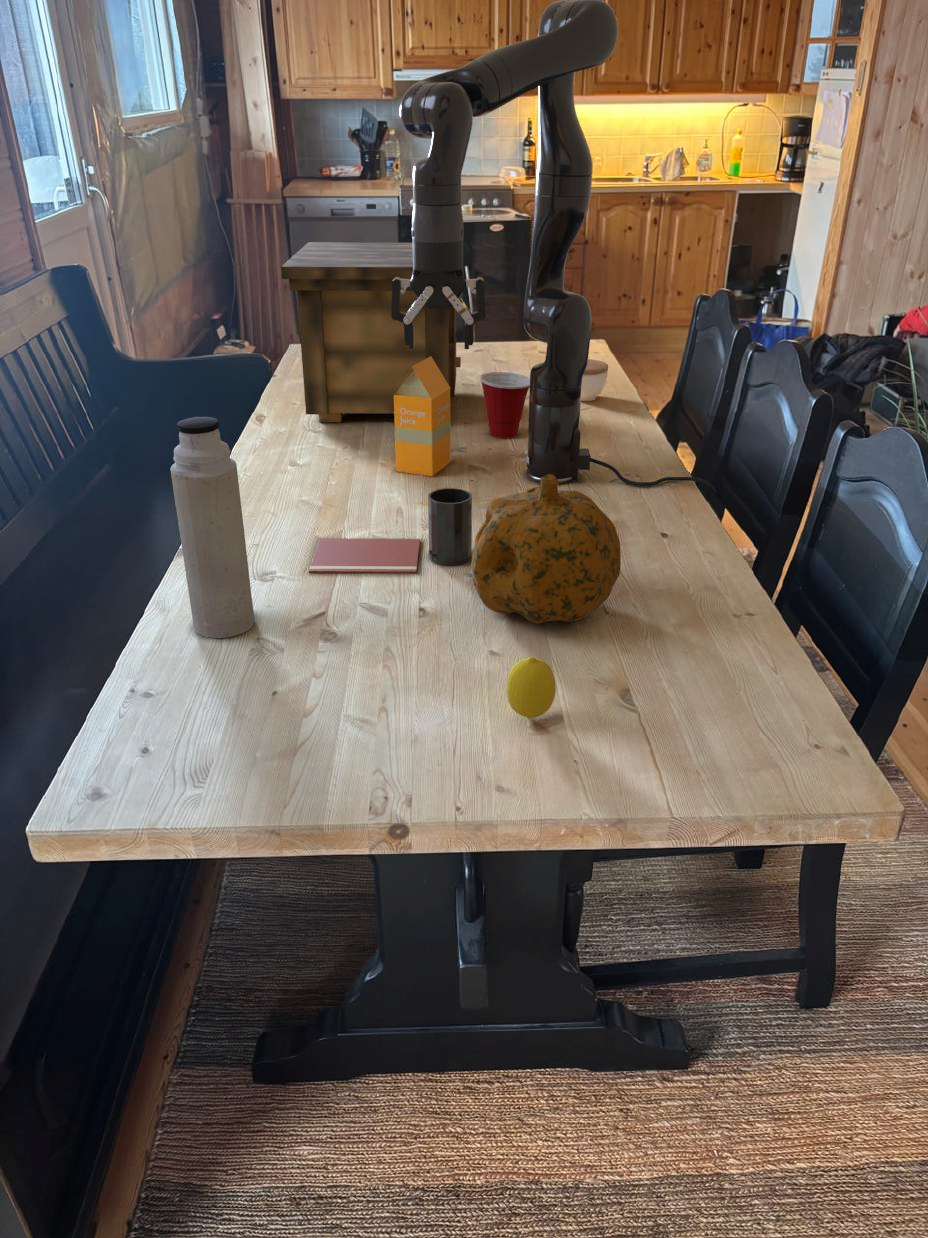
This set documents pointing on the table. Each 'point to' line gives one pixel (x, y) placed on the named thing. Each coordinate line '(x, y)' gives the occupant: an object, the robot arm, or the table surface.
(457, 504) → the black cup
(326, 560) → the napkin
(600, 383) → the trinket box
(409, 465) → the orange juice
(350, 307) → the crate
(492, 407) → the plastic cup
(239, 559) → the thermos bottle
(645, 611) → the table surface
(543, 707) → the lemon
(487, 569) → the decorative pumpkin
